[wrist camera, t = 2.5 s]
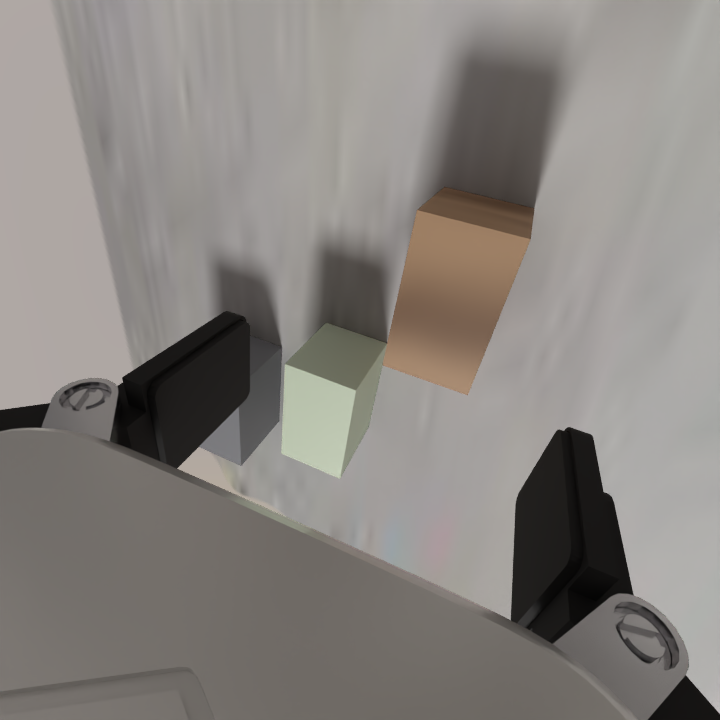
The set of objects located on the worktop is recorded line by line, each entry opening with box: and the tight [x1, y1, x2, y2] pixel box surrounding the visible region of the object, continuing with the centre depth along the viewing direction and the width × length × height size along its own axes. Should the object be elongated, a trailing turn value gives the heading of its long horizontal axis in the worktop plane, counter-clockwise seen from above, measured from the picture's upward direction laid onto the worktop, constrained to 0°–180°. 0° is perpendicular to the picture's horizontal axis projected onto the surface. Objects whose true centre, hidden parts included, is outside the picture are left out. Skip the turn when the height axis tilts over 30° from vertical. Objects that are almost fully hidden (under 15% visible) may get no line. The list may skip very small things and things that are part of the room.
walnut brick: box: [383, 187, 534, 395], centre depth 18 cm, size 7×4×5 cm, turn 171°
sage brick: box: [281, 323, 387, 479], centre depth 24 cm, size 7×4×5 cm, turn 172°
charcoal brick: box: [199, 336, 282, 466], centre depth 27 cm, size 7×4×5 cm, turn 171°
